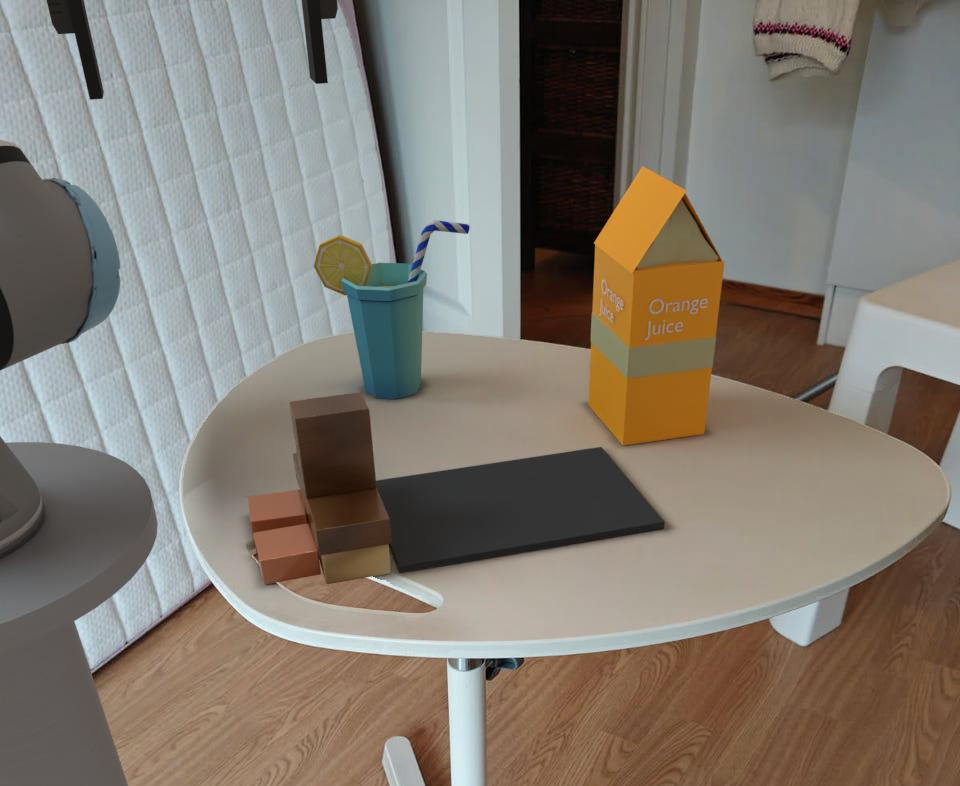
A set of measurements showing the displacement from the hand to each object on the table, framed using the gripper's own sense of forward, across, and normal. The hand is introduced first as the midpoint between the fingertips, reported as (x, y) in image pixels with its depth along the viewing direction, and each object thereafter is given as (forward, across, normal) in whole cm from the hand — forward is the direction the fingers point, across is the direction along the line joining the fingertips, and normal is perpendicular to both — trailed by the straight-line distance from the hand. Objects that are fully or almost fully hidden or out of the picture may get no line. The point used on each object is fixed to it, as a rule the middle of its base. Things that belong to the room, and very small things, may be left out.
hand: (210, 88), depth 63 cm
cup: (+29, +14, +18) cm, 37 cm away
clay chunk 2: (+29, 0, -11) cm, 31 cm away
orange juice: (+29, +33, +4) cm, 44 cm away
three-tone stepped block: (+29, +4, -8) cm, 30 cm away
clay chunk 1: (+29, 0, -5) cm, 29 cm away
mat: (+29, +17, -8) cm, 34 cm away
